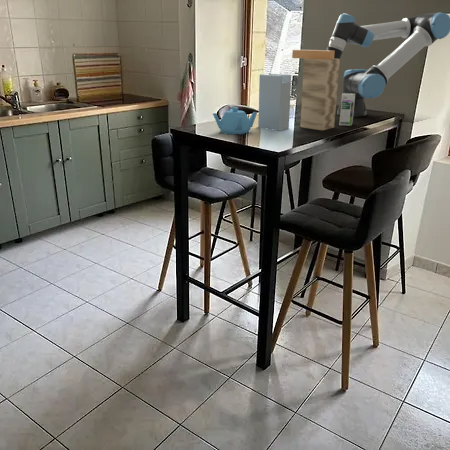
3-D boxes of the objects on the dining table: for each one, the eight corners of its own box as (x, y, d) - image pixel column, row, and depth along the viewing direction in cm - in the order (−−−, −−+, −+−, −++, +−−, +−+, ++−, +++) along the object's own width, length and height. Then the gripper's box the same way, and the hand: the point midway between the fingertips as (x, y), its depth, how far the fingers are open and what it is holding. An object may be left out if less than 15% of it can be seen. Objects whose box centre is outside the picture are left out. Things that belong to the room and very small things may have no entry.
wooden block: (312, 124, 222) (317, 58, 211) (334, 127, 214) (340, 58, 203) (300, 127, 215) (304, 58, 204) (322, 130, 208) (327, 59, 196)
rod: (296, 57, 214) (297, 49, 213) (334, 59, 201) (334, 50, 200) (292, 58, 212) (292, 49, 211) (329, 59, 199) (330, 50, 198)
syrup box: (338, 125, 219) (341, 93, 213) (340, 123, 224) (343, 92, 219) (351, 126, 217) (354, 94, 212) (352, 124, 222) (355, 92, 217)
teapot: (259, 131, 207) (259, 106, 203) (240, 137, 195) (241, 111, 191) (230, 127, 215) (230, 104, 211) (211, 133, 203) (211, 108, 199)
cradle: (268, 125, 220) (270, 73, 211) (288, 128, 213) (291, 74, 204) (258, 127, 215) (259, 74, 206) (278, 130, 208) (280, 76, 199)
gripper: (317, 46, 229) (301, 88, 234) (341, 45, 206) (323, 91, 212) (329, 51, 232) (313, 93, 237) (355, 51, 209) (337, 97, 214)
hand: (318, 92), depth 224 cm, fingers open, 13 cm apart
